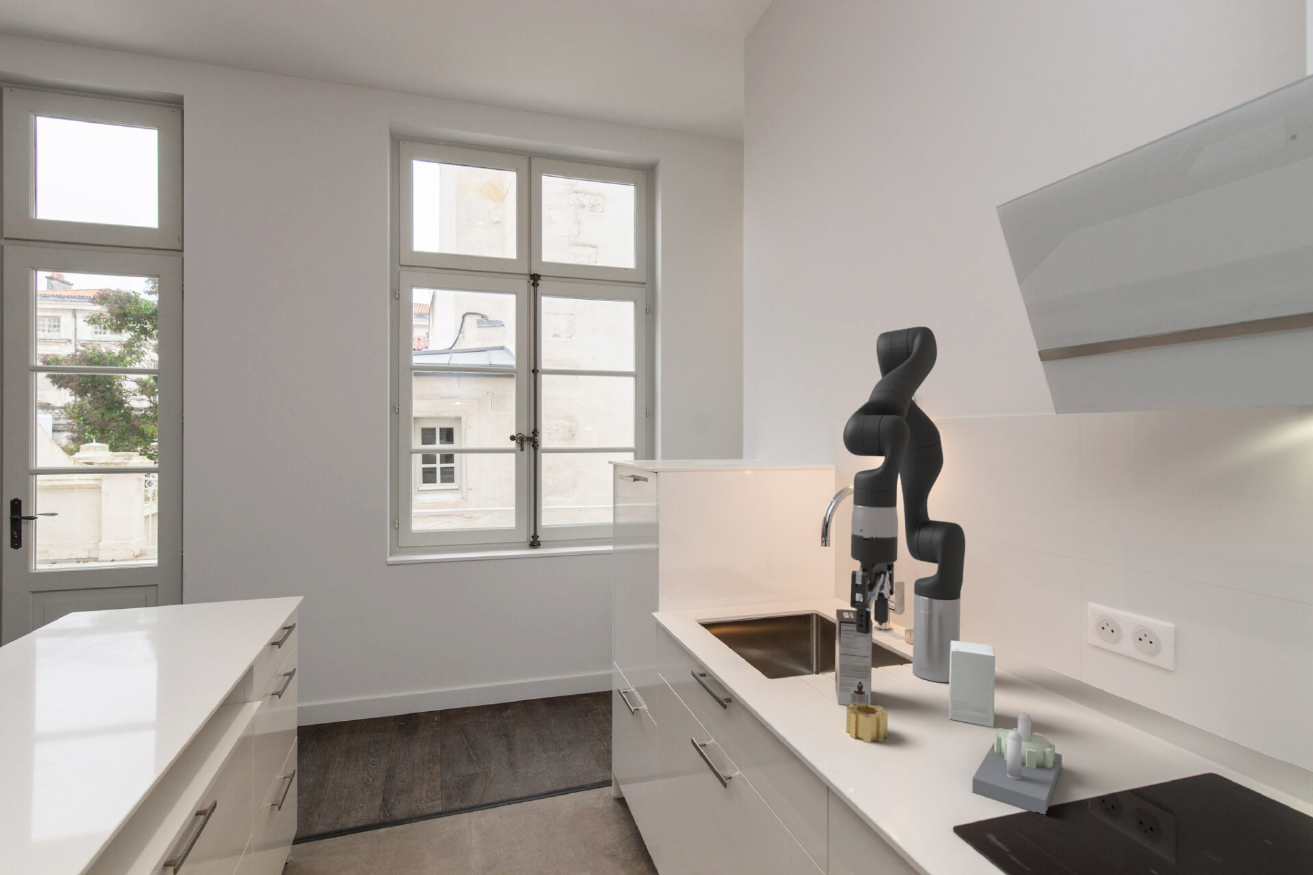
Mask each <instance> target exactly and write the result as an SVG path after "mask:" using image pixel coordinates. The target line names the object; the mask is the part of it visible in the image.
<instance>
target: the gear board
mask: <svg viewBox="0 0 1313 875" xmlns="http://www.w3.org/2000/svg"><path fill="white" fill-rule="evenodd" d="M996 731H997V732H996V733H994V742H993V743H992V744H991V747H990V748H989V750H988V752H987V753H986V755H985V757H984V759H983V760H982V761H981V763H980V765H979V767H978V768H977V770H976V772H975V773H974V775H973V777H972V788H971V790H972V791H971V792H972V793H974V794H977V795H980V796H984V797H986V798H989V799H993V800H994V801H995V800H996V801H998V802H1001V803H1005V804H1008V805H1011V806H1014V807H1017V808H1021V809H1024V810H1027V811H1030V812H1031V813H1032V812H1033V813H1035V812H1039V813H1041V814H1046V815H1047V812H1048V809H1049V806H1050V803H1051V800H1052V798H1053V794H1054V791H1055V788H1056V785H1057V783H1058V779H1059V776H1060V774H1061V771H1062V766H1063V754H1060V753H1058V752H1056V744H1055V743H1054V741H1052V740H1047V739H1046V738H1045V737H1044V735H1042V734H1040V733H1038V732H1033V719H1032V717H1031V716H1030V714H1028V713H1026V712H1021V713H1019V714H1018V716H1017V727H1013V728H1012V729H1005V728H998V729H997V730H996ZM1046 811H1047V812H1046ZM1041 814H1040V815H1041Z"/></svg>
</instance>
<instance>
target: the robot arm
mask: <svg viewBox="0 0 1313 875" xmlns="http://www.w3.org/2000/svg"><path fill="white" fill-rule="evenodd" d="M876 339H877V340H876V349H875V350H876V356H877V362H878V367H879V371H880V375H881V379H880V380H879V381H877V383H876V384H875V386H874V387H873V389H872V391H871V393H870V396H869V398H868V400H867V401H865V403H864V404H863V405H861V406H860V407H859V408H858V409H856V411H854V413H853V414H851V416H850V417H849V418H848V420H847V421H846V424H845V426H844V429H843V432H842V434H843V435H842V439H843V440H842V441H843V444H844V447H845V448H846V450H847V452H849V453H850V454H852V455H853V456H857V457H859V456H860V457H884V459H883V462H882V464H881V465H879V467H876V468H872V469H866V470H861V471H857V472H856V473H855V475H854V477H853V500H852V501H853V502H852V504H853V505H852V514H851V525H850V526H851V528H850V530H851V532H850V557H851V558H852V559H853V560H855V561H858V562H859V563H860V566H859V570H852V571H851V573H850V574H851V580H850V601H849V602H850V603H849V604H850V608H853V609H854V610H857V612H856V631H857V632H858V633H863V634H869V633H870V632H871V620H872V607H873V606H874V607H873V608H874V609H873V610H874V612H873V614H874V616H873V617H874V618H873V619H874V622H876V623H882V624H887V623H888V621H889V602H890V600H891V596H892V597H893V595H894V594H895V589H894V588H895V575H894V573H895V572H894V571H895V570H894V569H895V564H894V563H895V562H896V561H897V560H898V536H899V535H898V534H899V519H898V510H897V508H898V507H897V505H898V504H897V502H898V501H897V500H898V480H900V486H901V492H902V493H901V494H902V500H903V514H904V530H905V540H906V541H905V542H906V547H907V550H908V552H909V555H910V557H912V559H914V560H917V561H919V562H925V563H929V564H930V563H931V564H935V565H937V569H936V570H937V571H936V573H935V574H933V575H930V576H926V577H921V578H917V579H916V580H915V581H914V584H913V585H914V586H913V631H912V633H913V635H912V636H913V638H912V673H913V674H914V675H915V676H917V677H918V678H921V679H924V680H928V681H932V682H938V683H949V673H950V647H951V641H961V637H960V636H961V591H962V587H963V582H964V566H965V556H966V537H965V532H964V529H963V528H962V526H961V525H960V524H958V523H957V522H951V521H943V520H933V519H930V517H929V511H928V510H929V509H928V499H929V495H930V492H931V491H932V489H933V487H934V485H935V483H936V481H937V480H938V477H939V475H940V474H941V472H942V469H943V467H944V466H943V465H944V453H943V446H942V441H941V440H942V439H941V438H942V437H941V434H940V431H939V429H938V427H937V425H936V424H935V423H934V422H933V420H932V419H931V418H930V417H929V416H928V415H927V414H926V413H925V412H924V411H923V410H922V408H920V407H919V406H918V404H917V403H916V402H915V400H913V397H914V396H915V393H916V392H917V391H918V389H919V388H920V386H922V383H923V382H925V380H926V378H927V377H928V375H929V374H930V373H931V371H932V370H933V368H934V367H935V364H936V362H937V357H938V347H937V346H938V345H937V340H936V337H935V334H934V332H933V330H932V329H931V328H929V327H927V326H913V327H908V328H901V329H897V330H896V329H895V330H891V331H885V332H882V333H880V334H879V335H878V337H877V338H876ZM873 604H874V605H873Z"/></svg>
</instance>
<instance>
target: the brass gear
mask: <svg viewBox="0 0 1313 875" xmlns="http://www.w3.org/2000/svg"><path fill="white" fill-rule="evenodd" d="M888 714H889V713H888V710H884V707H882V706H880V705H873V704H871V705H870V703H865V702H863V704H857V703H850V705H846V723H845V724H846V726H845V730H846V731H845V732H846V733H849V737H851V738H852V739H855V740H856V739H861V740H862V741H863V742H864V743H865V742H867V743H871V742H873V741H877V742H878V743H881V742H884V741H885V738H886V739H887V738H888V716H889V715H888Z"/></svg>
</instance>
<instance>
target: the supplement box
mask: <svg viewBox="0 0 1313 875" xmlns="http://www.w3.org/2000/svg"><path fill="white" fill-rule="evenodd" d="M995 676H996V654H995V650H994V646H993V645H989V644H984V643H983V644H982V643H975V642H967V641H961V640H960V641H951V647H950V673H949V682H948V718H949V720H953V721H959V722H963V723H968V724H974V725H977V726H978V725H980V726H985V727H990V728H992V727H994V725H995V679H996V678H995Z"/></svg>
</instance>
